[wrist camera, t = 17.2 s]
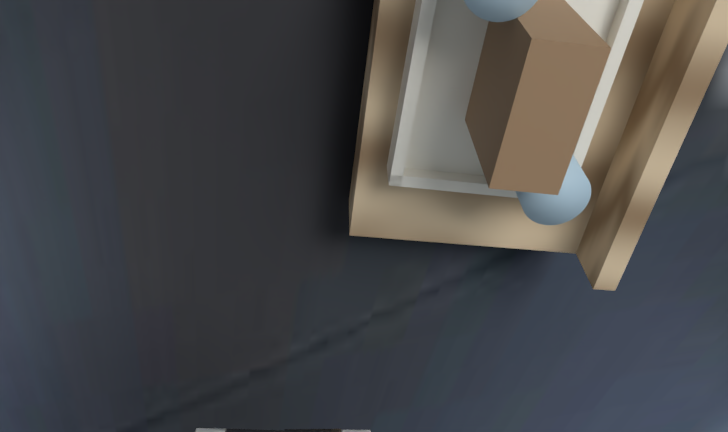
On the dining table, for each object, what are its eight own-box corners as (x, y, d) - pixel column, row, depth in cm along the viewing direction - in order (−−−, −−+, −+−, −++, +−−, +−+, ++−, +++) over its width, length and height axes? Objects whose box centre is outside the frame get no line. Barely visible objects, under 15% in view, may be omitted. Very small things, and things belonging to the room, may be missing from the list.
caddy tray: (557, 183, 33) (602, 270, 27) (386, 166, 32) (396, 251, 26) (655, -88, 26) (744, -48, 20) (436, -120, 25) (464, -88, 19)
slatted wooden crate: (577, 219, 39) (614, 290, 33) (348, 199, 37) (349, 270, 32) (741, -215, 26) (843, -211, 21) (407, -265, 25) (424, -275, 20)
